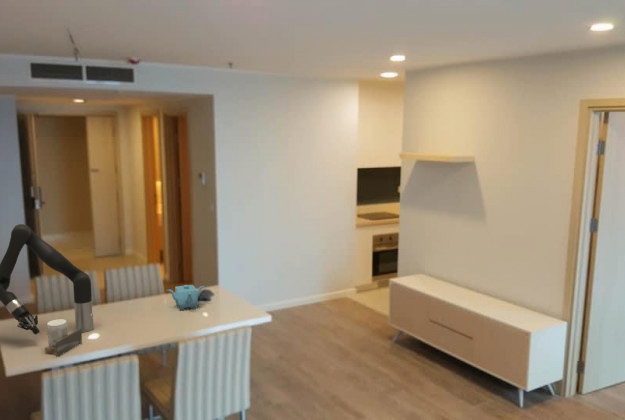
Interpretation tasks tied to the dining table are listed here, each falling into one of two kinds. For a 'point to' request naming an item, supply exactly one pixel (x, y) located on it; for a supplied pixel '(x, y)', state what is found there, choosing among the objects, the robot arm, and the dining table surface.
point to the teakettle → (186, 296)
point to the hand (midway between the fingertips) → (37, 333)
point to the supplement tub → (56, 331)
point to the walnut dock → (66, 343)
